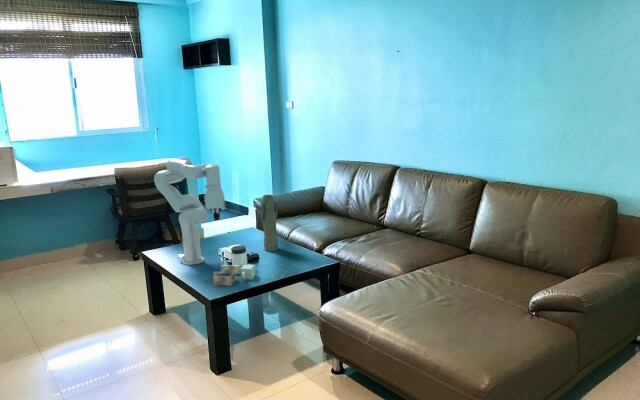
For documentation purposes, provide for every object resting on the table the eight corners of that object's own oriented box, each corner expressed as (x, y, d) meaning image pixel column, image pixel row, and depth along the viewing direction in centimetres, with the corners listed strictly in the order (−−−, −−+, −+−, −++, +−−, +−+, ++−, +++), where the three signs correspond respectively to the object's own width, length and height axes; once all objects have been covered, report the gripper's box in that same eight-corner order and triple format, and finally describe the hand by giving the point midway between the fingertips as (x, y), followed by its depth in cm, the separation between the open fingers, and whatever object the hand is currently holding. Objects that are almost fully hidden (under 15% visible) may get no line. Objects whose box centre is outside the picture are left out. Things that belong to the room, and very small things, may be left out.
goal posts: (241, 281, 261) (240, 272, 260) (249, 272, 274) (248, 263, 273) (245, 281, 261) (244, 273, 260) (252, 272, 274) (252, 263, 273)
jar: (241, 264, 288) (239, 244, 286) (250, 266, 283) (249, 246, 280) (229, 268, 282) (227, 248, 279) (238, 271, 276) (237, 251, 274)
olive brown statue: (283, 248, 314) (279, 194, 306) (269, 253, 305) (265, 197, 298) (273, 245, 320) (269, 192, 312) (259, 250, 311) (255, 196, 303)
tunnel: (209, 285, 258) (209, 277, 257) (221, 272, 276) (221, 264, 275) (231, 285, 256) (231, 277, 255) (242, 272, 274) (241, 265, 273)
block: (241, 279, 265) (240, 268, 264) (244, 275, 271) (243, 264, 269) (252, 279, 264) (251, 268, 263) (255, 275, 270) (254, 264, 268)
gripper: (198, 189, 268) (201, 221, 272) (224, 188, 266) (227, 221, 270) (203, 186, 276) (206, 218, 280) (229, 186, 273) (232, 218, 277)
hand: (217, 219), depth 275 cm, fingers closed
